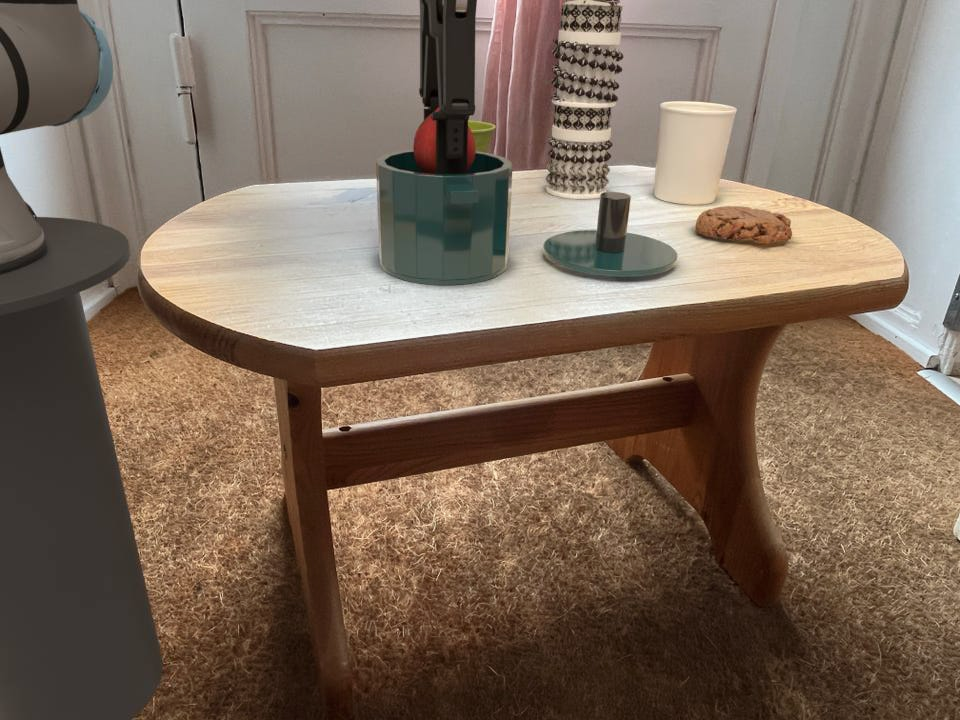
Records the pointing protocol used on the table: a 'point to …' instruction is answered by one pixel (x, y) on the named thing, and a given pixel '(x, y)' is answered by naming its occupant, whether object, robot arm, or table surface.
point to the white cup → (691, 150)
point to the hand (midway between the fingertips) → (444, 184)
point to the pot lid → (610, 245)
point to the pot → (443, 220)
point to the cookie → (744, 224)
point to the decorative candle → (584, 97)
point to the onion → (427, 146)
